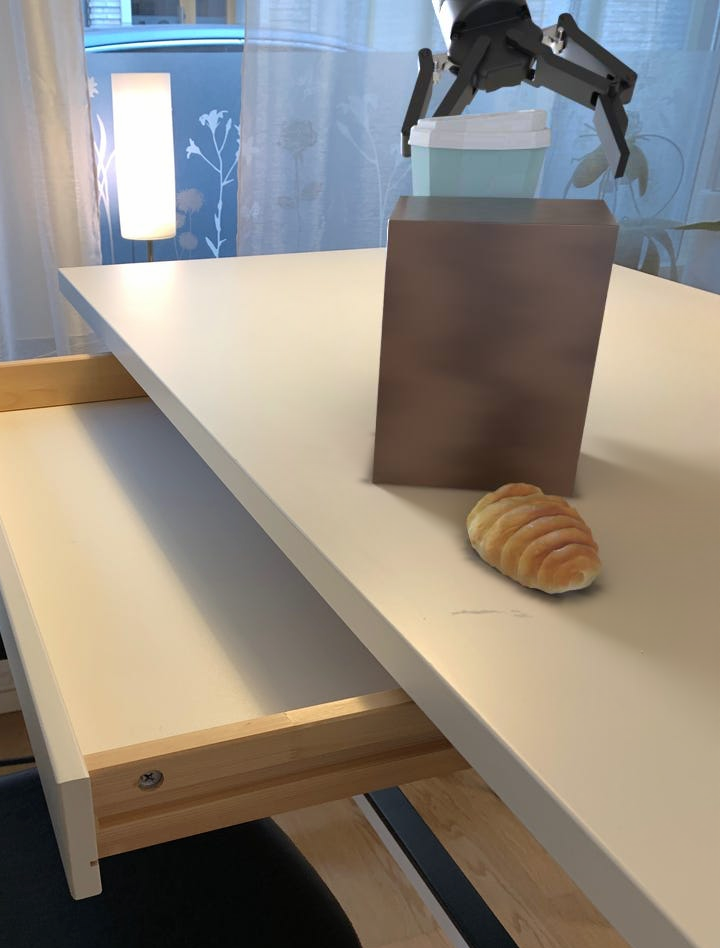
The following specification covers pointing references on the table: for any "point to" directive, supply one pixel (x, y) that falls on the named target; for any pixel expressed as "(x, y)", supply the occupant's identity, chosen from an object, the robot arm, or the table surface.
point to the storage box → (490, 340)
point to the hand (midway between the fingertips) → (540, 185)
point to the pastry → (534, 539)
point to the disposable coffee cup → (479, 154)
